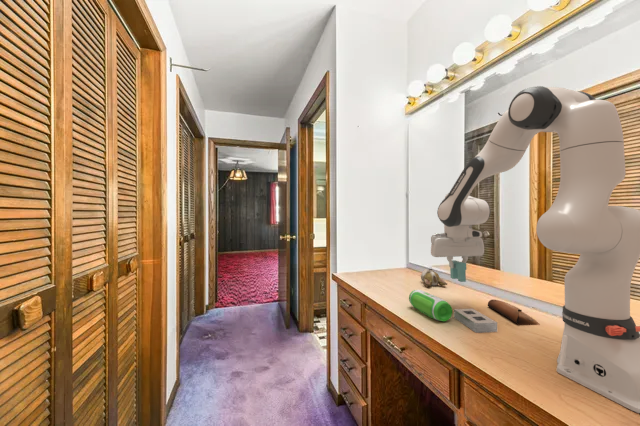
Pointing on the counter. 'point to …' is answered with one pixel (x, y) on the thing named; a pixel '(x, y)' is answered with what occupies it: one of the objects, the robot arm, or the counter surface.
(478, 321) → the grey slotted block
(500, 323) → the counter surface
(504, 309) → the brown tapered cylinder
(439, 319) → the speaker
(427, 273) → the ceramic sculpture
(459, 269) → the clip
